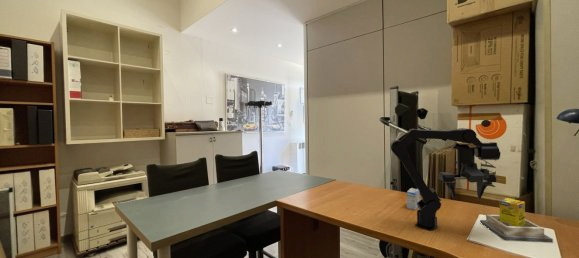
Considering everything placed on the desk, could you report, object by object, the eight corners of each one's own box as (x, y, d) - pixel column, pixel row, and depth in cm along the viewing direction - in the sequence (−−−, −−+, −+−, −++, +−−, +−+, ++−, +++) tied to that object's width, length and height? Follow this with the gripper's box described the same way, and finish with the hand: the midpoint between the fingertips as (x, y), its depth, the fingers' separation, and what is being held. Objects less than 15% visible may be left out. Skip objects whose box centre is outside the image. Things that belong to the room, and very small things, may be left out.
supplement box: (519, 233, 90) (518, 204, 90) (499, 227, 95) (498, 200, 95) (525, 229, 93) (525, 201, 93) (506, 223, 98) (505, 197, 98)
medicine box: (410, 204, 128) (410, 187, 128) (419, 205, 125) (419, 189, 125) (406, 208, 122) (406, 191, 122) (416, 210, 119) (416, 193, 119)
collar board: (504, 240, 88) (504, 228, 88) (480, 222, 103) (479, 213, 103) (552, 242, 85) (552, 230, 85) (520, 224, 100) (520, 214, 100)
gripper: (449, 163, 90) (450, 204, 90) (506, 163, 86) (507, 205, 87) (436, 158, 101) (437, 195, 101) (487, 158, 97) (487, 196, 98)
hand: (466, 198), depth 97 cm, fingers open, 9 cm apart
